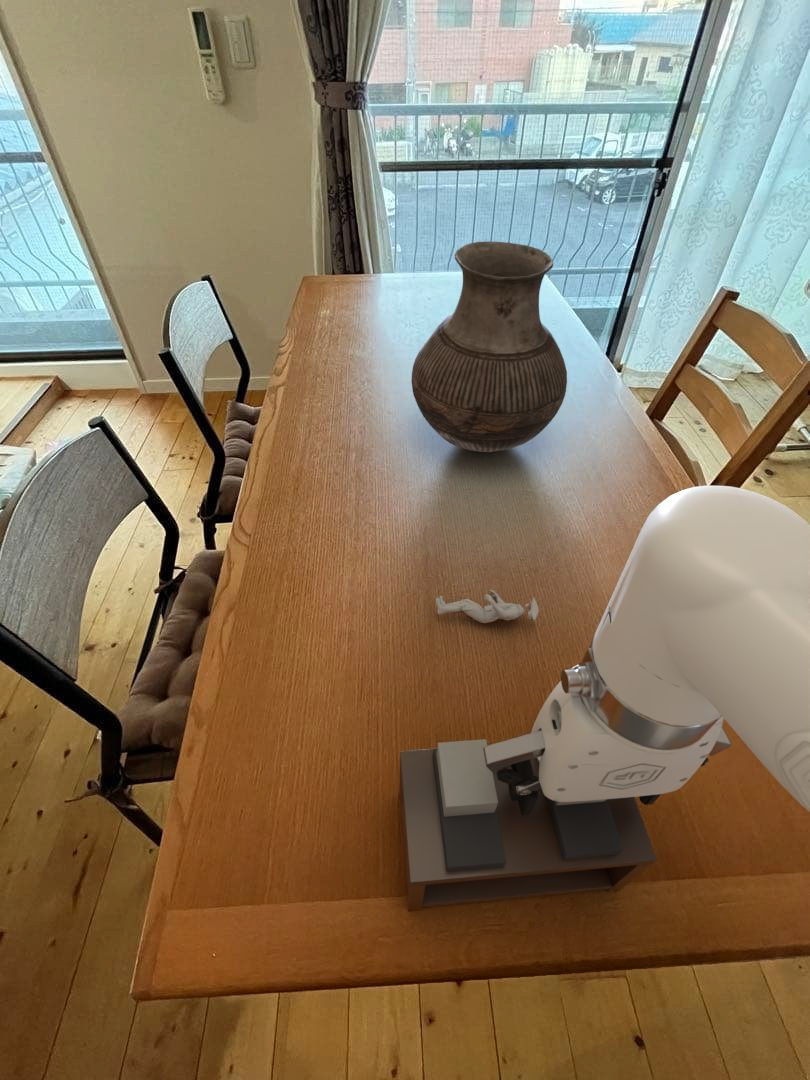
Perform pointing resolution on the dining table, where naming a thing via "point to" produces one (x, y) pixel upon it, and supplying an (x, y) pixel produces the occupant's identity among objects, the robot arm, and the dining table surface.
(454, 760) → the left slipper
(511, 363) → the vase
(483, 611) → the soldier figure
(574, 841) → the right slipper
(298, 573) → the dining table surface
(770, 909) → the dining table surface
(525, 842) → the shoe rack
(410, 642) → the dining table surface
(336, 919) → the dining table surface
